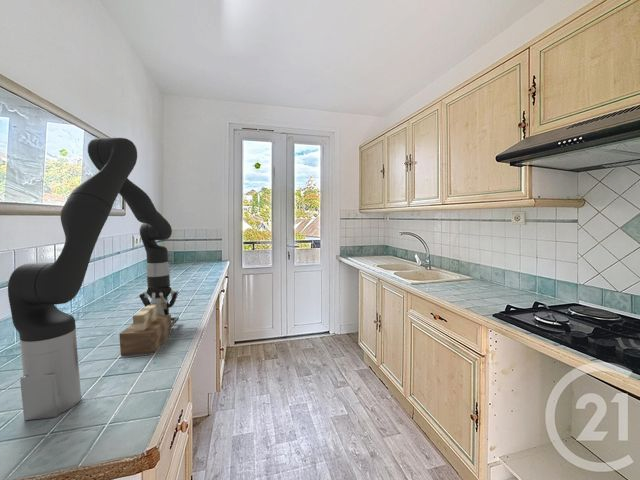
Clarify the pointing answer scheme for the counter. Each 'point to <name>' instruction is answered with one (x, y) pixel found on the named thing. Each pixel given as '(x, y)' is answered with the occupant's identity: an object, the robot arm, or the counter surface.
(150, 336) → the toolbox
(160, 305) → the salt shaker
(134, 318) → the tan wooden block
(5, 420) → the counter surface
